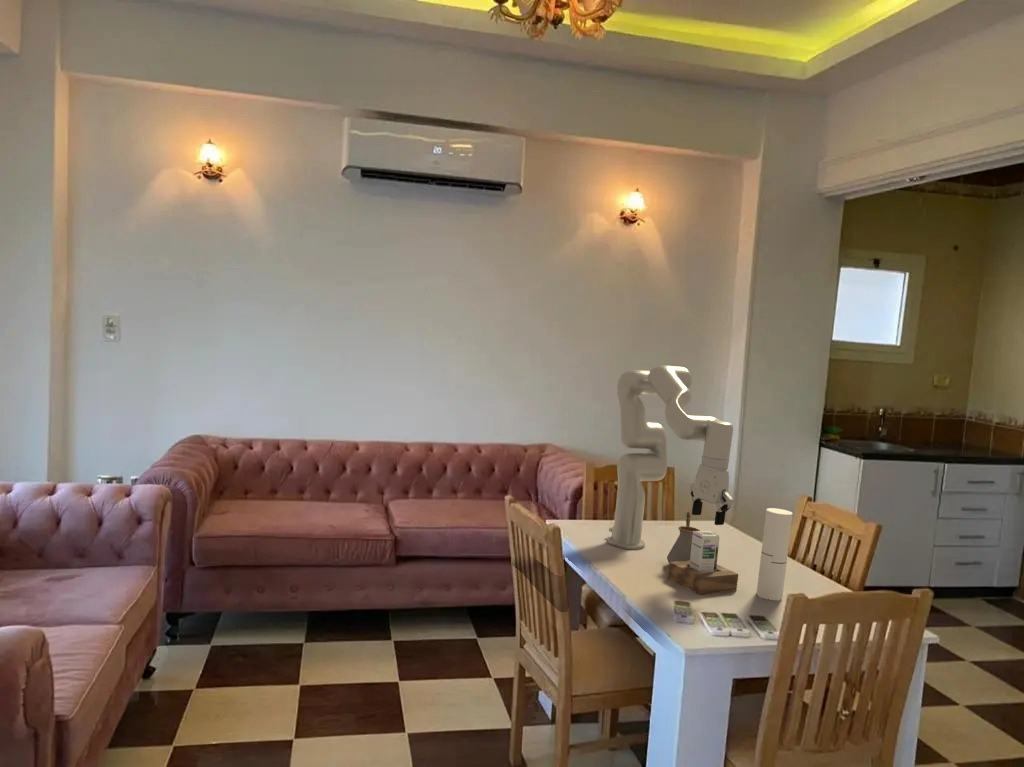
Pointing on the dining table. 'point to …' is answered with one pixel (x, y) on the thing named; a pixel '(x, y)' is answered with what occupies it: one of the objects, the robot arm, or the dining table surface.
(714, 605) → the dining table surface
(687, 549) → the coffee pot
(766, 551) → the cylindrical container
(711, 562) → the syrup box
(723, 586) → the mount block
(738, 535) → the dining table surface
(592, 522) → the dining table surface
